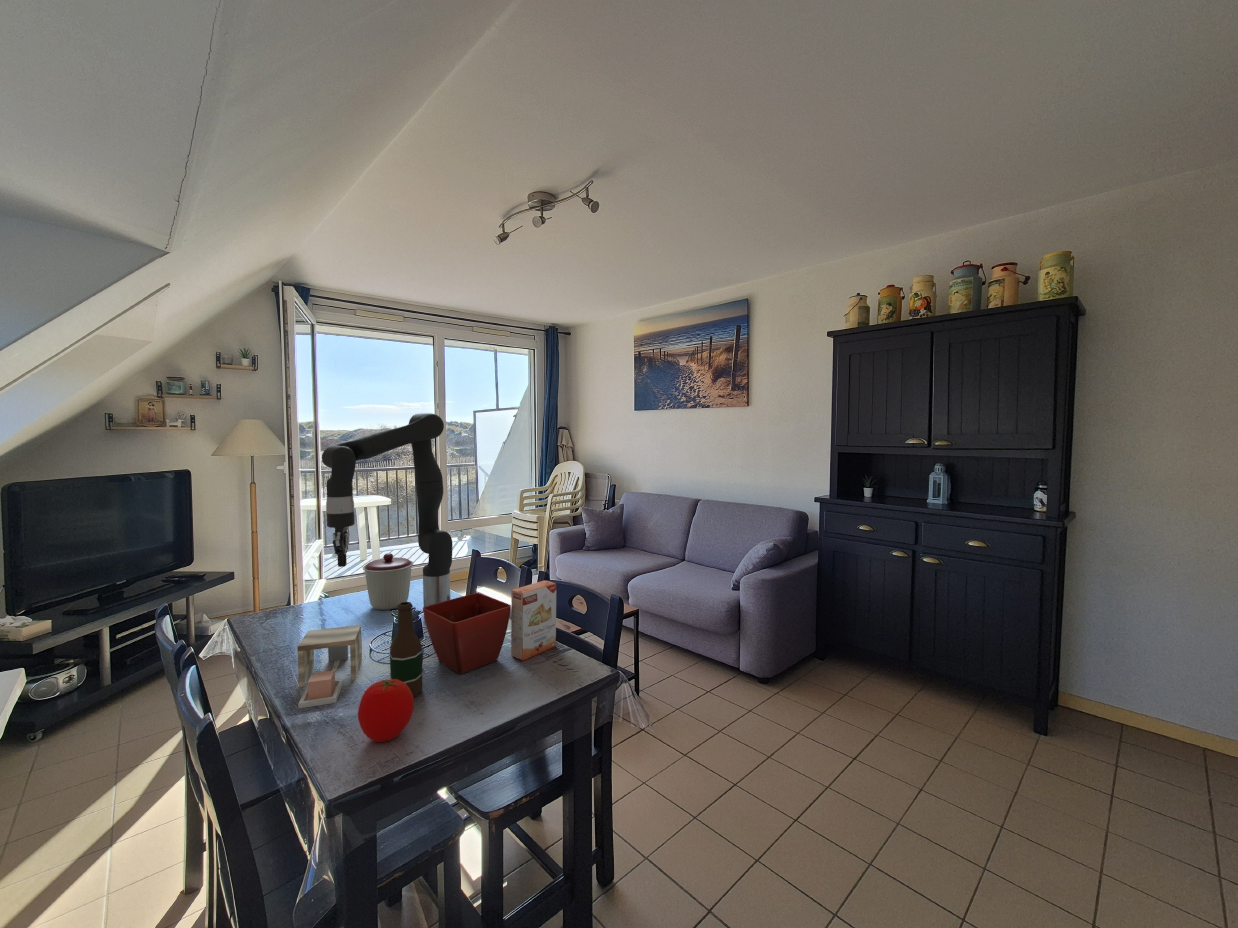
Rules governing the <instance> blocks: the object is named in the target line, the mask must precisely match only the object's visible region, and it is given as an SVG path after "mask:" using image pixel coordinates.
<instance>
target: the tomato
mask: <svg viewBox="0 0 1238 928" xmlns="http://www.w3.org/2000/svg"><path fill="white" fill-rule="evenodd" d="M414 700H415V699H414V697H413V695H412V692H411V690H410V688H409V687H408V686H407V685H406V684H405V683H404V682H402V681H400V680H397V679H390V678H389V679H385V680H384V679H381V680H380V681H376V682H374V683H373V684H371V685H369V686H368V687H367V688H366V689H365V690H364V692H363V694H362V696H361V699H360V701H359V702H360V703H359V706H358V710H357V719H358V723H359V726H360V728H361V731H362V732H363V733H364V734H365V736H366V737H367V738H368V739H370V740H371V741H373V742H377V743H384V742H389V741H391V740H393V739H395V738H396V737H397V736H398V735H400V734H401V733H402V732H403V731H404V729H405V728H406V727H407V726H408V724H409V722H410V719H411V718H412V716H413V712H414V707H415V706H414V705H415V704H414V703H415V702H414Z"/></svg>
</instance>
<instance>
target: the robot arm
mask: <svg viewBox="0 0 1238 928" xmlns="http://www.w3.org/2000/svg"><path fill="white" fill-rule="evenodd" d="M444 428H445V425H444V421H443V419H442V418H441V416H439V415H437V414H435V413H432V412H431V413H430V412H429V413H428V412H424V413H423V412H422V413H415V414H413V415H412V416H411V417H410V418H409V422H408V424H406V425H401V426H399V427H395V428H392V429H386V430H382V431H376V432H374V433H371V434H368V435H365V436H362V437H360V438H358V439H355V440H350V441H346V442H341V443H338V444H334V445H331V446H329V447H327V448H326V449H324V451H323V452H322V454H321V461H322V463H323V464H324V466H326V467H327V468H329V469H331V471H330V472H331V475H330V477H329V478H328V479H327V480H326V486H325V487H326V504H325V508H326V511H325V512H326V515H325V516H326V527H328V528H329V529H331V528H334V532H333V533H332V545H333V550H334V554H335V555H336V556H337V567H338V568H343V567H346V566H347V561H348V560H347V554H348V550H349V545H350V544H349V543H350V540H349V539H350V531H349V530H348V528H349V527H352V526H354V525H355V520H356V519H355V502H354V491H353V490H354V489H353V479H354V476H355V473H356V471H355V470H356V465H357V461H360V460H361V461H362V460H368V459H371V458H374V457H377V456H380V455H382V454H385V453H387V452H390V451H393V450H395V449H397V448H401V447H403V446H407V445H409V444H411V450H412V455H413V456H412V457H413V468H414V483H415V492H416V500H417V501H416V503H417V513H418V514H417V515H418V531H417V539H418V540H417V543H418V546H419V549H420V550H421V552H422V553H425V554H426V555H428V562H427V564H426V565H424V566H423V567H422V589H423V590H422V591H423V593H422V594H423V598H422V599H423V607H425V606H429V605H432V604H436V603H440V602H443V601H447V600H451V576H450V575H451V571H450V570H451V566H452V563H453V539H452V536H451V534H450V533H449V532H447V531H445V530H443V529H442V530H441V529H440V526H439V517H438V515H439V509H440V506H441V503H442V500H443V497H444V480H443V474H442V470H441V468H440V466H439V464H438V462H437V460H436V458H435V455H434V452H433V447H432V446H433V445H432V440H434V439H436V438H438V437H440V436H441V435H442V434H443V432H444ZM423 622H424V623H425V624H426V622H425V618H424V617H423Z"/></svg>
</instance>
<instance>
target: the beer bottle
mask: <svg viewBox="0 0 1238 928" xmlns="http://www.w3.org/2000/svg"><path fill="white" fill-rule="evenodd" d="M412 608H413V604H412V602H411V601H407V602H402V603H400V604H398V606H397V608H396V609H397V610H398V611H397V629H396V634H395V636H394V638H393V639H392V640H391V643H390V647H389V672H390V676H389V677H390V678H389V679H397V680H400V681H402V682H404V683H405V684H406V685H407V686H408V687H409V688H410V690H411V692H412V695H413V698H416V697H417V696H418V695H419V694H421V692H422V691H423V659H422V658H423V651H422V650H423V649H422V643H421V640H420V639H419V638H420V637H418V635H417V634H416V633H415V629H414V622H413V613H412V610H413V609H412Z"/></svg>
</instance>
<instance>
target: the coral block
mask: <svg viewBox="0 0 1238 928" xmlns="http://www.w3.org/2000/svg"><path fill="white" fill-rule="evenodd" d="M331 670H332V669H331ZM331 670H328V671H327V670H326V671H319V672H312V673H311V675H310V677H309V679H308V680H307V687H308V700H314V699H321V698H327V697H332V695H333V693H334V691H335V680H336V678H335V677H336V672H335V670H332V671H331Z"/></svg>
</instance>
